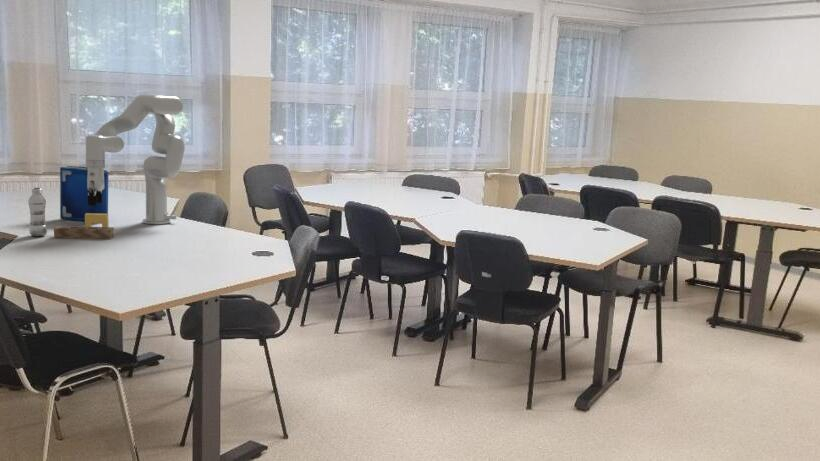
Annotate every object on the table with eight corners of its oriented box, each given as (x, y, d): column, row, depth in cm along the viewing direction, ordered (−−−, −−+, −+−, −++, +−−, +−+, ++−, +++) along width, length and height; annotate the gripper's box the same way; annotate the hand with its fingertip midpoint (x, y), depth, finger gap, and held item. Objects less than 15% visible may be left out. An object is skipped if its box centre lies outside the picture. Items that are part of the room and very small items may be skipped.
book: (111, 221, 341) (110, 168, 337) (103, 223, 334) (102, 169, 330) (67, 217, 343) (66, 165, 339) (59, 220, 336) (57, 166, 332)
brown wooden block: (113, 236, 306) (113, 227, 305) (110, 239, 300) (110, 229, 300) (58, 235, 302) (58, 225, 302) (54, 237, 297) (53, 228, 296)
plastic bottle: (40, 238, 295) (38, 189, 291) (25, 236, 296) (23, 188, 292) (50, 235, 301) (49, 188, 297) (36, 234, 302) (35, 186, 299)
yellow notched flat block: (108, 231, 315) (108, 213, 314) (107, 232, 313) (106, 214, 312) (86, 231, 314) (86, 213, 312) (85, 232, 311) (84, 214, 310)
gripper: (99, 166, 300) (99, 206, 303) (109, 163, 317) (109, 201, 320) (80, 165, 299) (80, 205, 302) (91, 162, 316) (91, 201, 318)
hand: (95, 203), depth 311 cm, fingers open, 9 cm apart
